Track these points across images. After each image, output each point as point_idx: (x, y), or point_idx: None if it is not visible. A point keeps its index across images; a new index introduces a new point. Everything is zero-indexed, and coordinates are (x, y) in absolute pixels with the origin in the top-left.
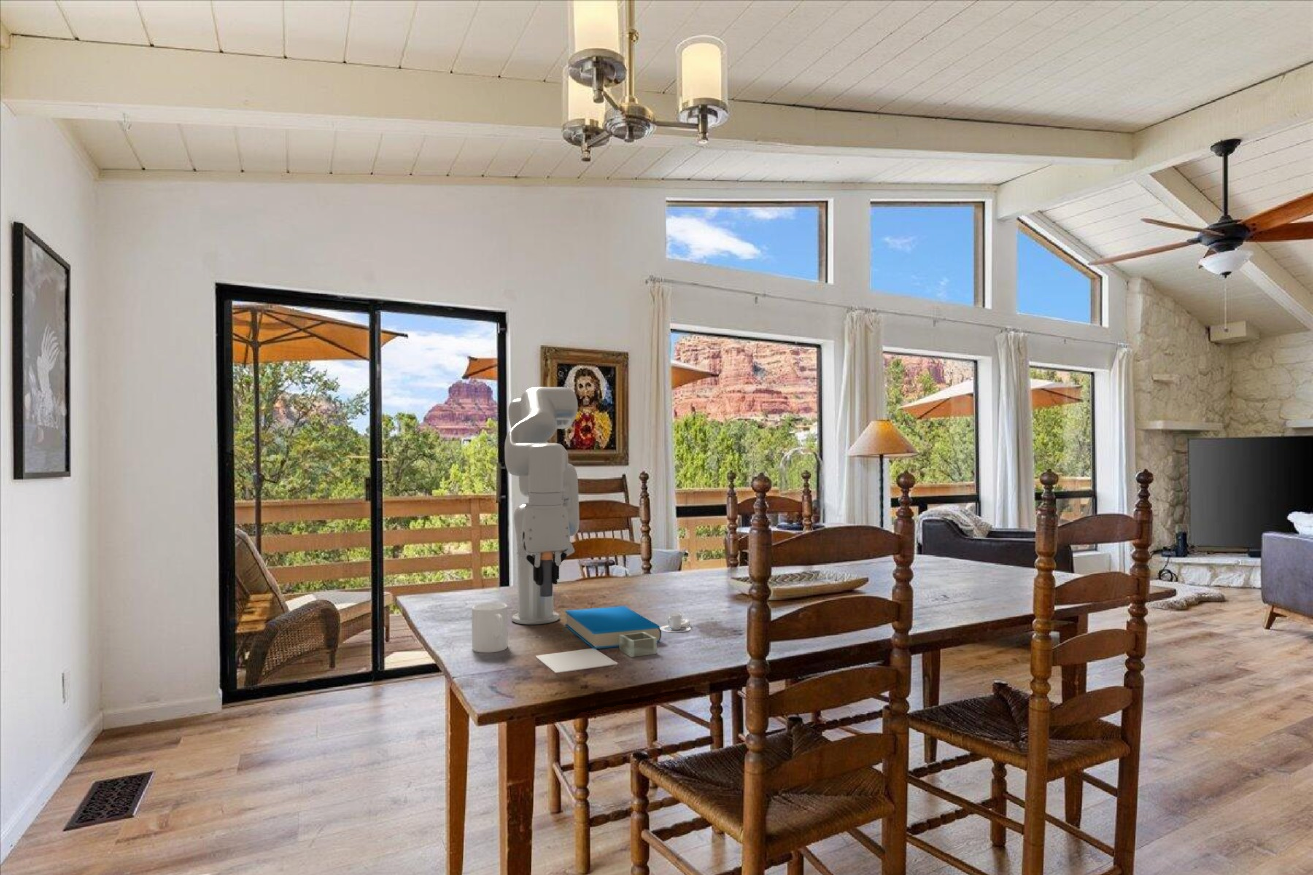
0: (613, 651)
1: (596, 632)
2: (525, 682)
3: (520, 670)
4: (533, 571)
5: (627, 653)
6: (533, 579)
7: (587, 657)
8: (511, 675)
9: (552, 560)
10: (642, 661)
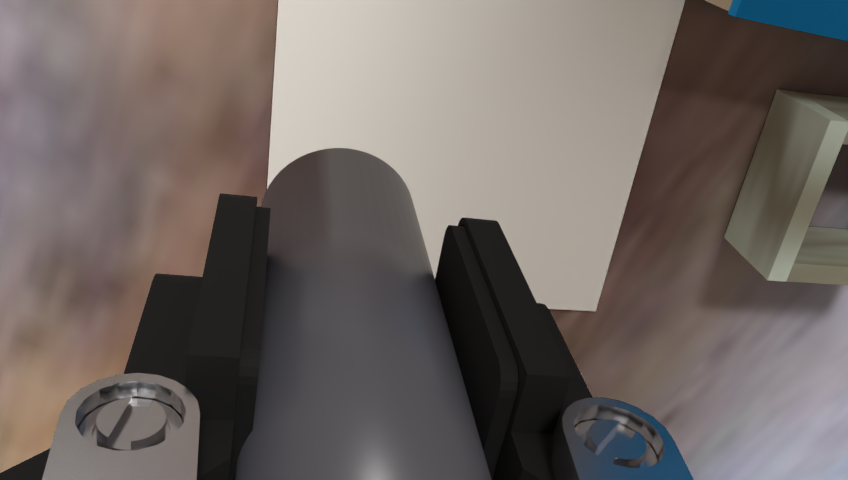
0: (736, 90)
1: (749, 17)
2: (67, 347)
3: (96, 152)
4: (132, 355)
5: (742, 200)
6: (156, 276)
7: (538, 142)
8: (21, 212)
9: (561, 474)
10: (711, 321)
